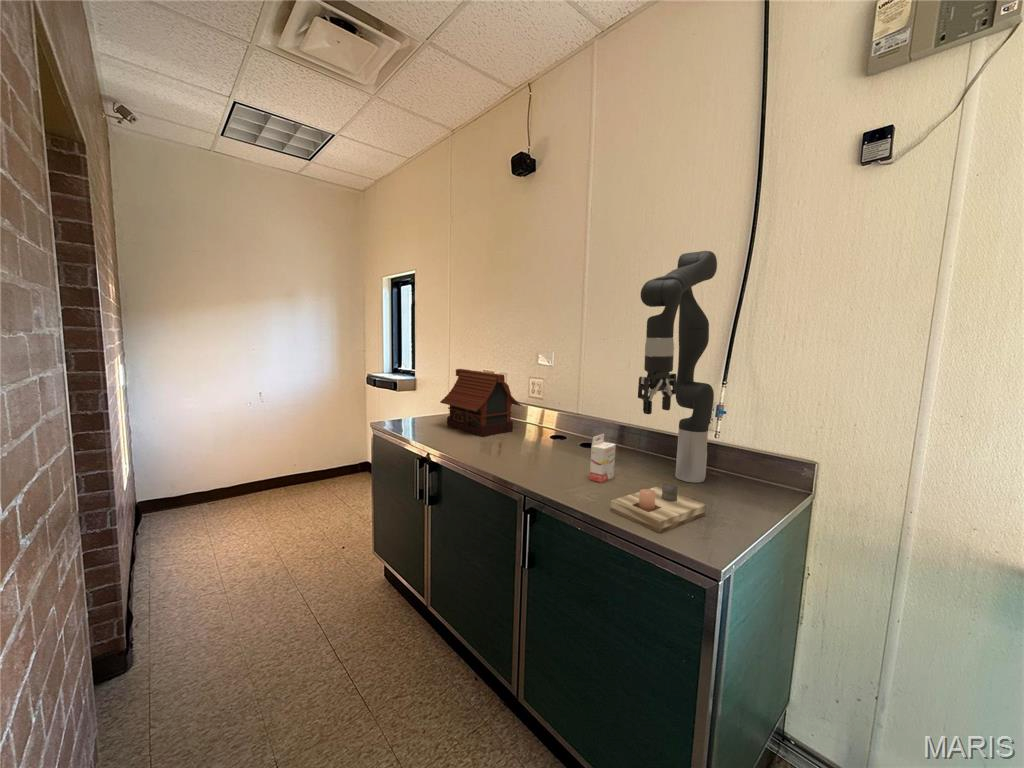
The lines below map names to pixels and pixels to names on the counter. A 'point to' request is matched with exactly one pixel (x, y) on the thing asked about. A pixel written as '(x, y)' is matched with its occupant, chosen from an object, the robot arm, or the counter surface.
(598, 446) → the ink cartridge box
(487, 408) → the house
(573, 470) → the counter surface
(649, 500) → the terracotta pin
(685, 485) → the counter surface
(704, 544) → the counter surface
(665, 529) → the pin board
